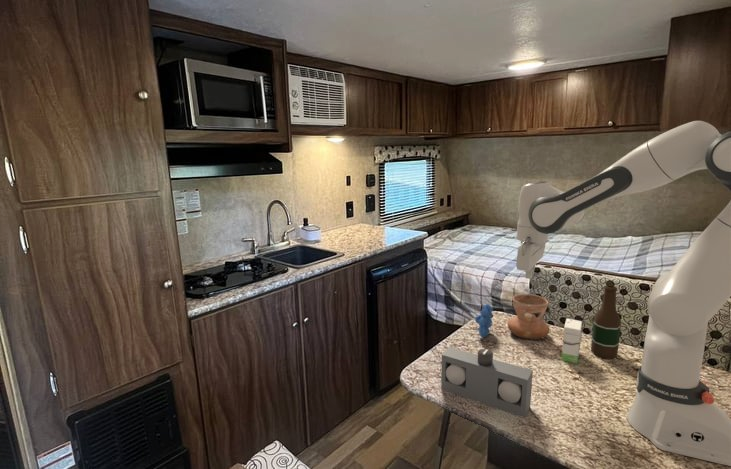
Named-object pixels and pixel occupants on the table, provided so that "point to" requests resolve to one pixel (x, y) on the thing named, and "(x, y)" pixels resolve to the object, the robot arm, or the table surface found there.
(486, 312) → the grapes
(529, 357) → the table surface
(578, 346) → the ink box
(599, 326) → the beer bottle
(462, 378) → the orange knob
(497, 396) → the mount
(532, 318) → the ceramic jug
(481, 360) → the pot dial
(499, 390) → the cream knob
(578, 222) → the robot arm
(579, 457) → the table surface
